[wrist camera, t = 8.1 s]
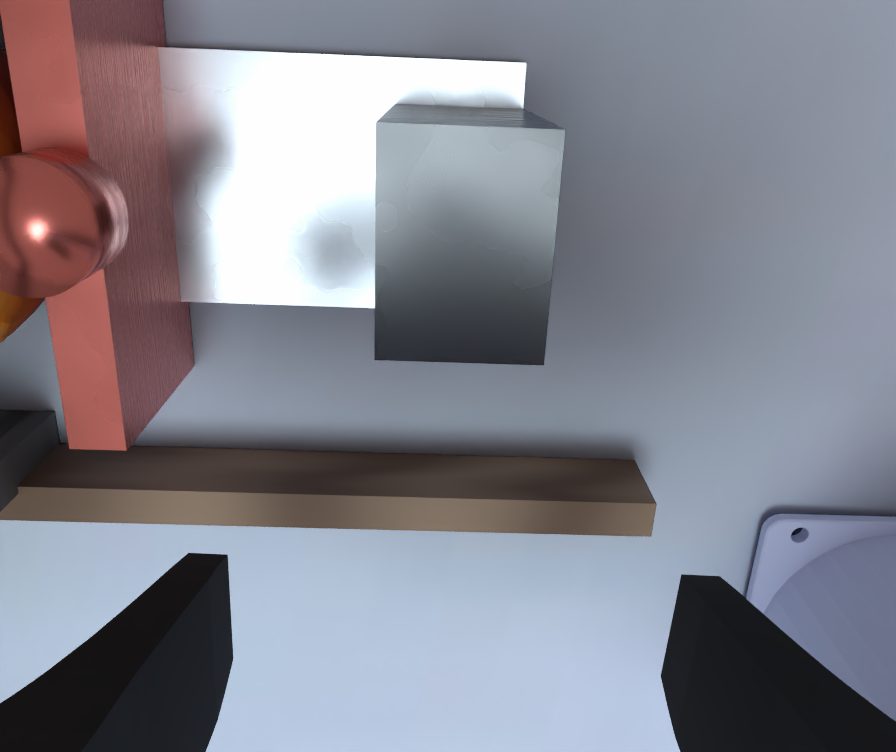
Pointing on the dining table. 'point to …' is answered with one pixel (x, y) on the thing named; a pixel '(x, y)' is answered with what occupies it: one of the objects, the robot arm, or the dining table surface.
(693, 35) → the dining table surface
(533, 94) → the dining table surface
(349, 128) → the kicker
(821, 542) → the robot arm
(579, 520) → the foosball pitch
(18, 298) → the fruit
